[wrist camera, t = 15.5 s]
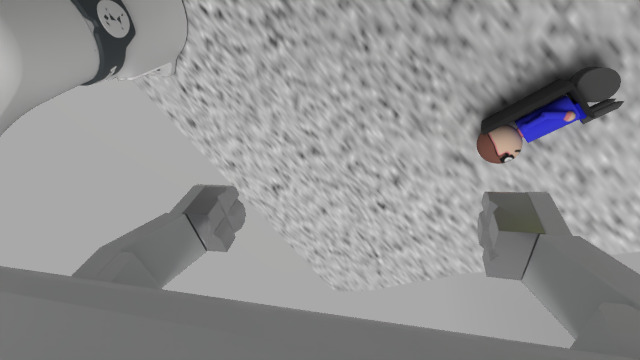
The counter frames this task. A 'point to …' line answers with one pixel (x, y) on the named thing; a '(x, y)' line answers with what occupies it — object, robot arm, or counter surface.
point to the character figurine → (548, 112)
